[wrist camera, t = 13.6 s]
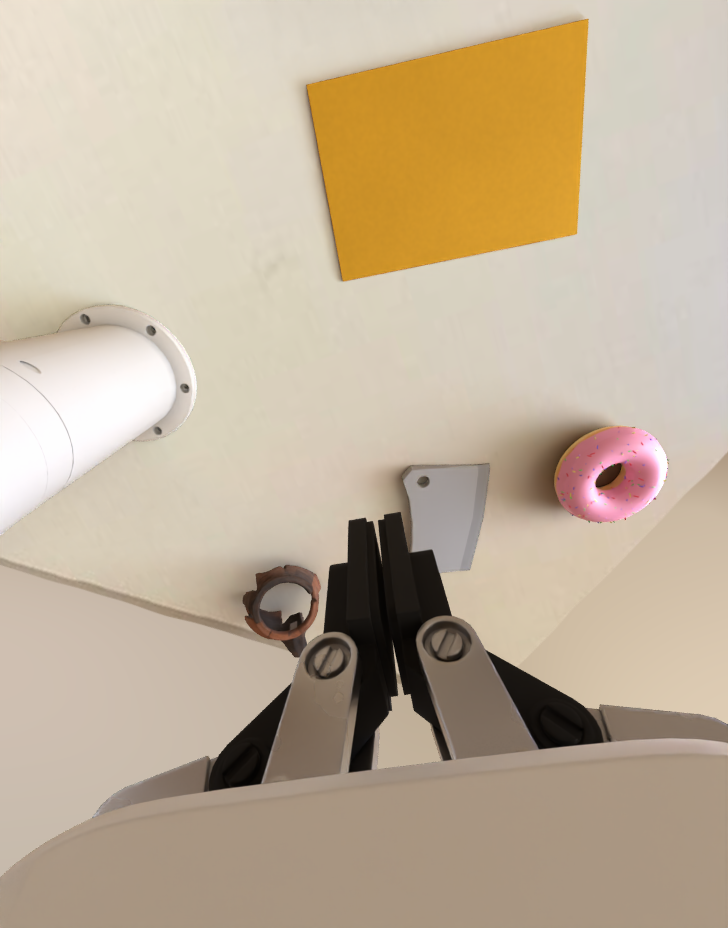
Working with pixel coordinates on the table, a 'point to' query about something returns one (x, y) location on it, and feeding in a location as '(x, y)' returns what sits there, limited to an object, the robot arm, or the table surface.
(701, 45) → the table surface
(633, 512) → the doughnut
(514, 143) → the cloth
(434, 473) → the kitchen cleaver
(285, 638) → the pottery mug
